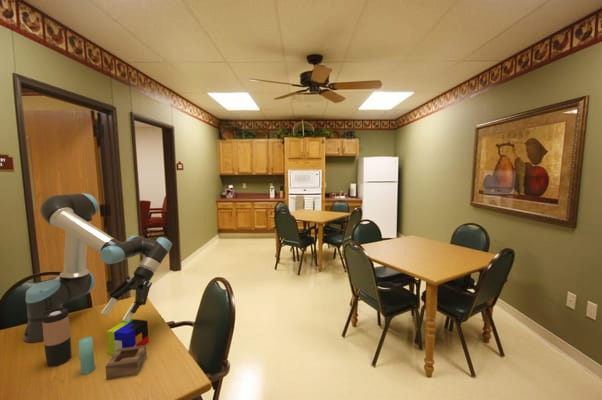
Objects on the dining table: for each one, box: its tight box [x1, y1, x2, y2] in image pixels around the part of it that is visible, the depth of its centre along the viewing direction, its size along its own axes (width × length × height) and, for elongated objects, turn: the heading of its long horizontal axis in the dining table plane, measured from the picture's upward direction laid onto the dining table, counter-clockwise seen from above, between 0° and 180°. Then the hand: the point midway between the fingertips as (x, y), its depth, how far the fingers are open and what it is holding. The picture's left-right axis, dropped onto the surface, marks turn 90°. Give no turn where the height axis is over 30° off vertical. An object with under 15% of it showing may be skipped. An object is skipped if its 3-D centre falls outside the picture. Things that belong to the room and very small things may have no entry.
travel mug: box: [42, 307, 72, 368], centre depth 104 cm, size 8×8×20 cm
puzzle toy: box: [106, 318, 150, 356], centre depth 112 cm, size 10×10×10 cm
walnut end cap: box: [104, 344, 148, 380], centre depth 101 cm, size 10×10×5 cm
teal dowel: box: [78, 336, 96, 375], centre depth 99 cm, size 4×4×12 cm
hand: (114, 317), depth 108 cm, fingers open, 13 cm apart
